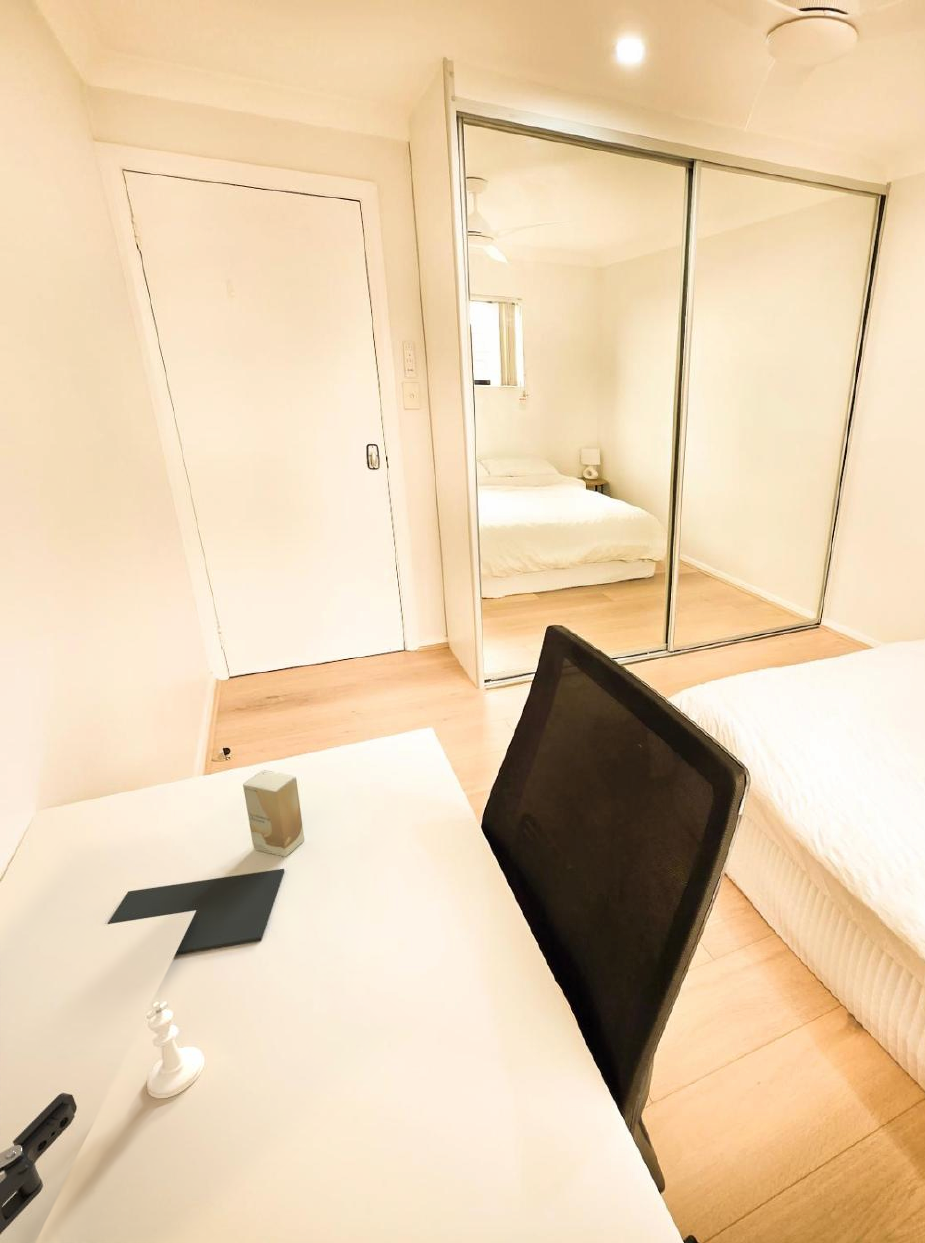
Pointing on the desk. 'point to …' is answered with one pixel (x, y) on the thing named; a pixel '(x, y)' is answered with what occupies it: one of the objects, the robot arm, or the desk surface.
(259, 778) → the cosmetic box
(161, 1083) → the chess piece
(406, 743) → the desk surface
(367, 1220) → the desk surface
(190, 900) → the mat
